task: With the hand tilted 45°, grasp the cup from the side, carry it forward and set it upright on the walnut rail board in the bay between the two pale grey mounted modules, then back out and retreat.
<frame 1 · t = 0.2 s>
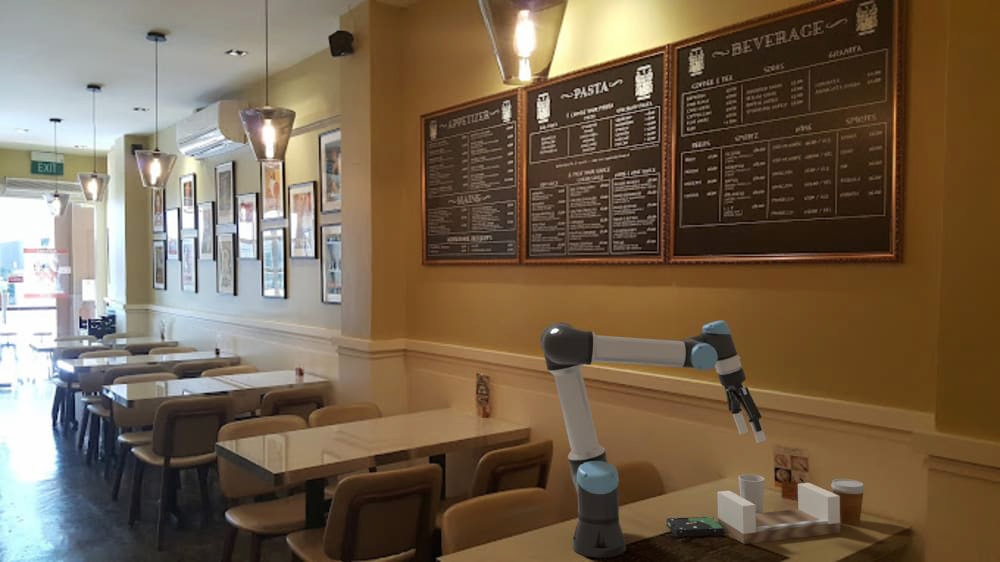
hand: (752, 437, 213), 28 cm above the table, tool tilted 15°, fingers open, 13 cm apart
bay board: (778, 530, 211), on the table
mounted modules: (777, 507, 211), point 7 cm above the table
disk drive: (694, 532, 213), on the table
disposable coffee cup: (848, 521, 217), on the table
cup: (752, 515, 225), on the table
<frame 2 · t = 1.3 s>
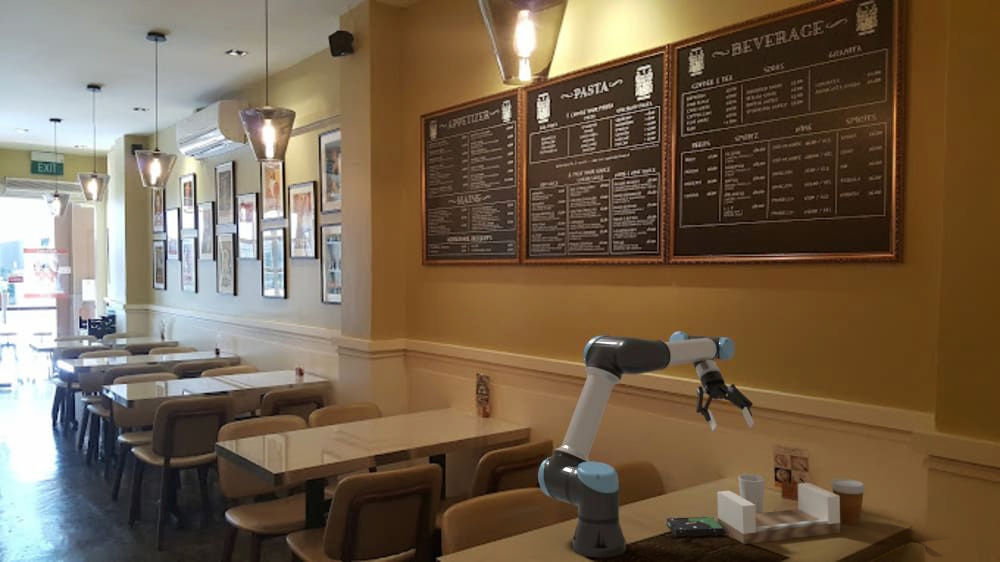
hand: (733, 427, 234), 26 cm above the table, tool tilted 45°, fingers open, 13 cm apart
nothing on the table moved.
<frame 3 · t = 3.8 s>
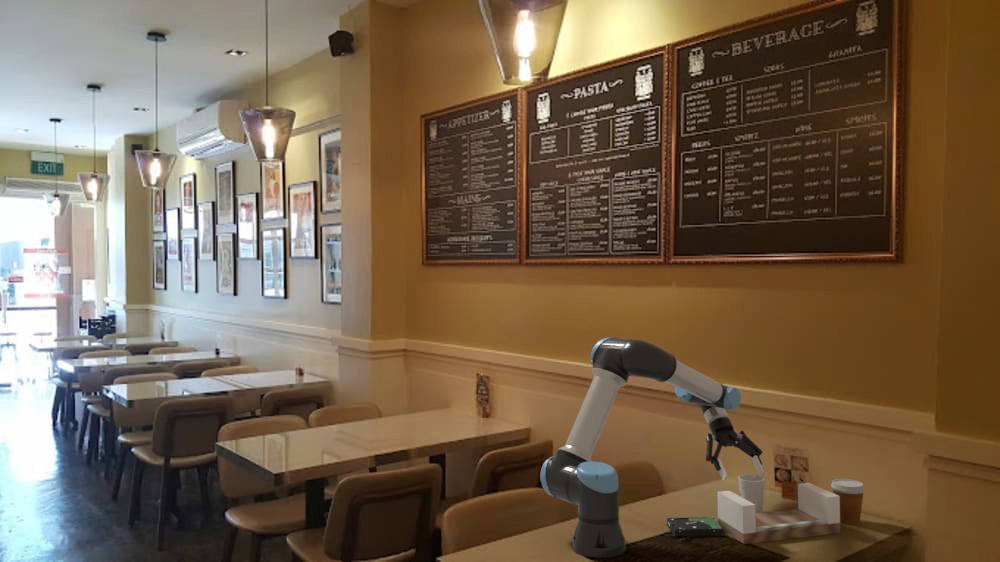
hand: (744, 476, 231), 11 cm above the table, tool tilted 45°, fingers open, 13 cm apart
nothing on the table moved.
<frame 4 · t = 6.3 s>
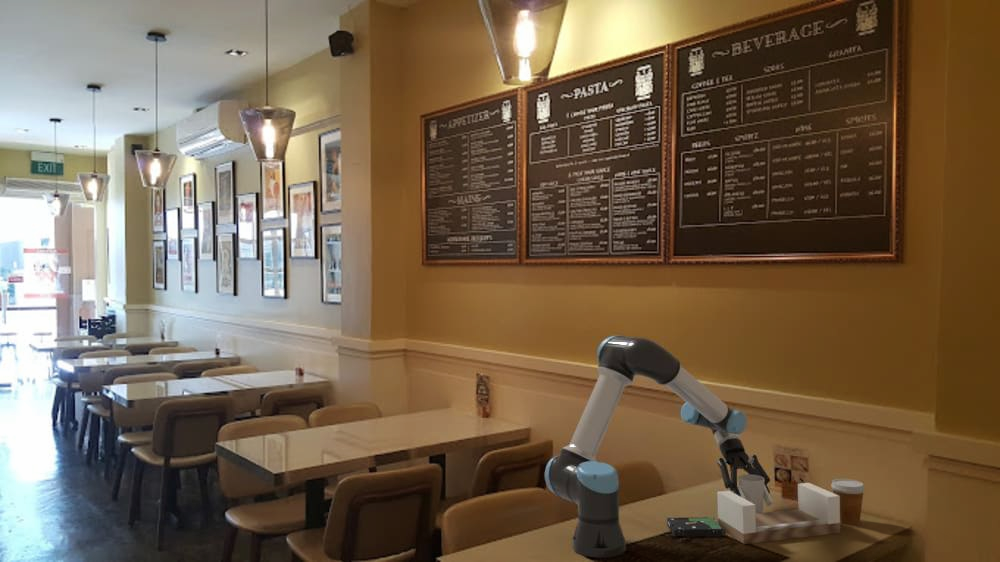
hand: (757, 505, 222), 4 cm above the table, tool tilted 45°, fingers closed on cup, 8 cm apart
cup: (752, 515, 225), on the table, touching gripper
everything else where it was.
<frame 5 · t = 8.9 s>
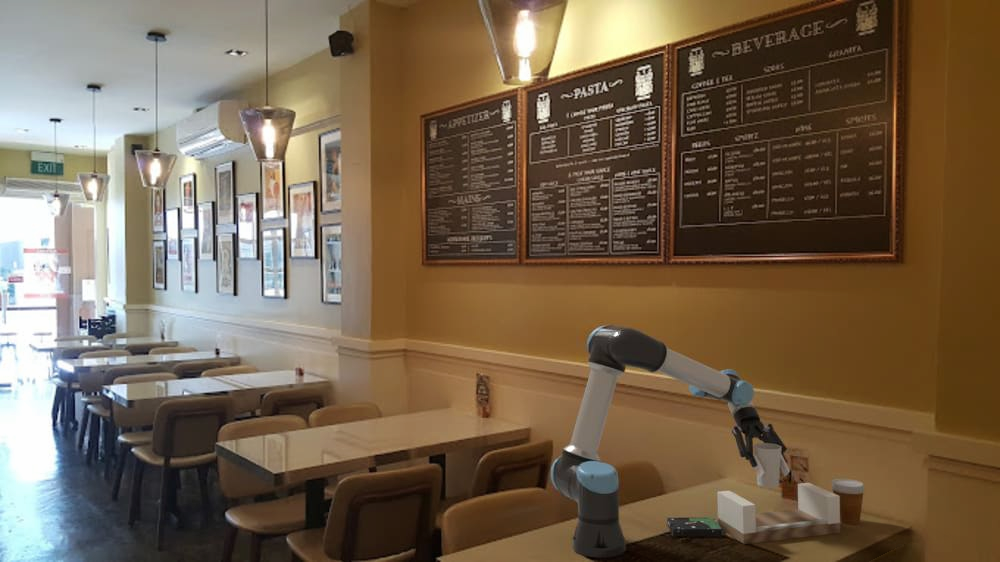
hand: (774, 474, 214), 16 cm above the table, tool tilted 45°, fingers closed on cup, 8 cm apart
cup: (768, 485, 217), point 12 cm above the table, touching gripper
everything else where it was.
when the fingers open (9 cm above the table, at t = 11.7 s): cup drops 1 cm, resting on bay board.
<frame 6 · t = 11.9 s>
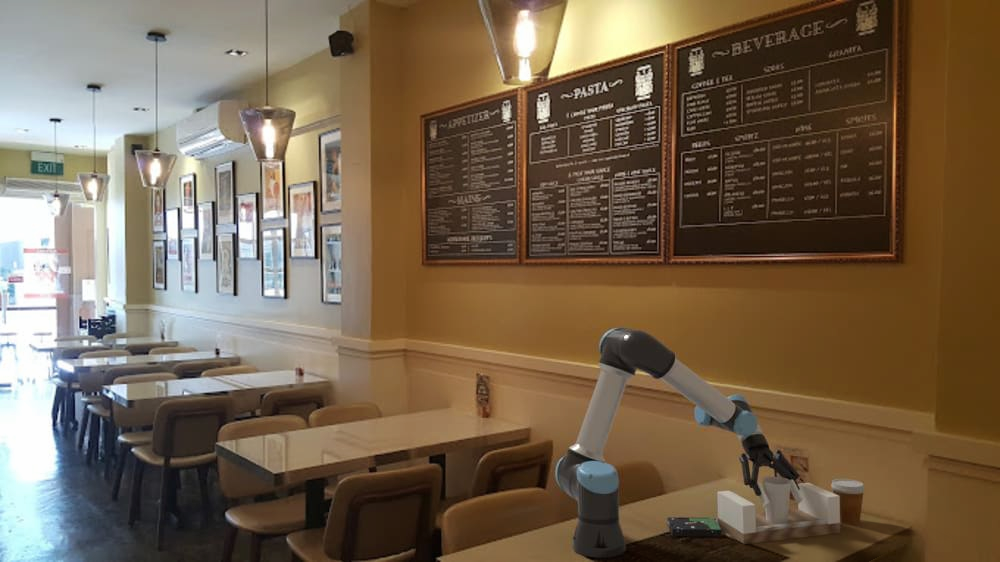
hand: (783, 503, 208), 9 cm above the table, tool tilted 45°, fingers open, 10 cm apart
cup: (777, 520, 211), point 3 cm above the table, touching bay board
everything else where it was.
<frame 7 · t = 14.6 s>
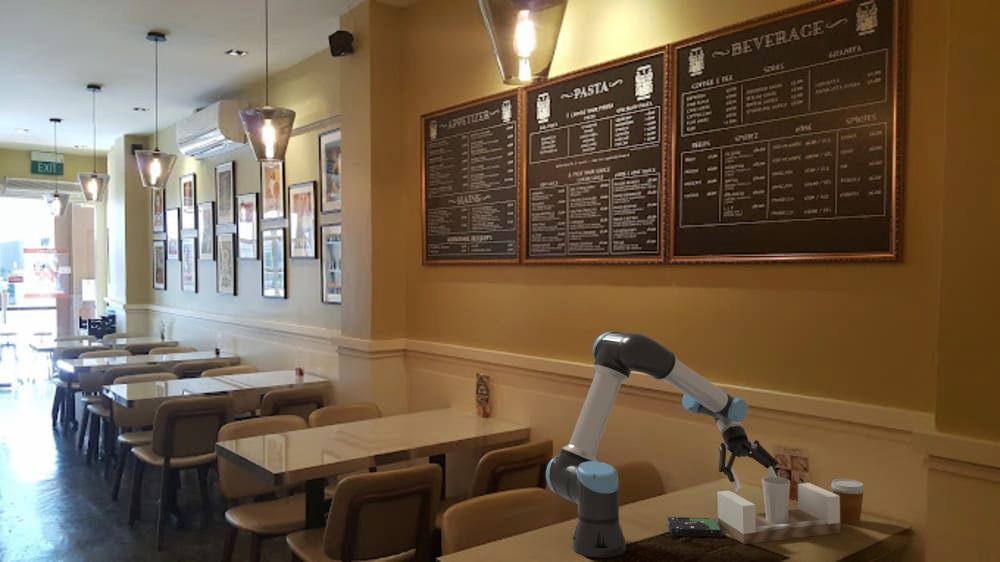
hand: (758, 488, 221), 10 cm above the table, tool tilted 45°, fingers open, 13 cm apart
nothing on the table moved.
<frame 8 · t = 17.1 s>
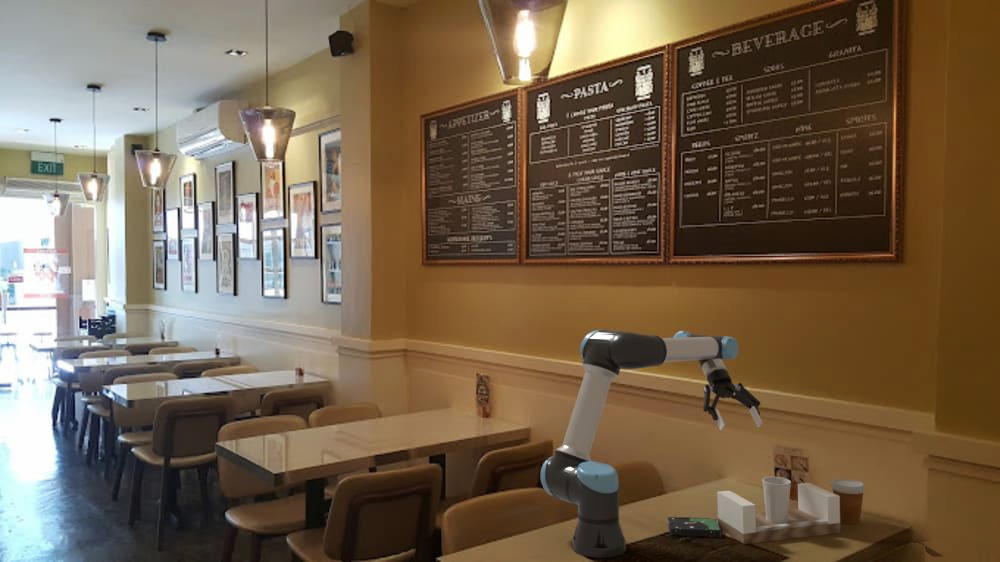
hand: (741, 426, 229), 28 cm above the table, tool tilted 45°, fingers open, 13 cm apart
nothing on the table moved.
at the end: cup inside the target area on the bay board (0.3 cm from its centre), point 2.8 cm above the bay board's base; cup tilted 1°; the gripper is holding nothing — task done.
